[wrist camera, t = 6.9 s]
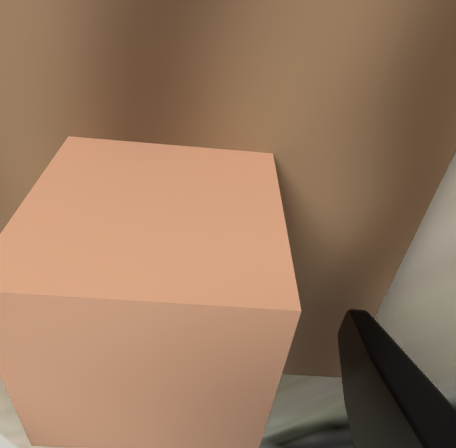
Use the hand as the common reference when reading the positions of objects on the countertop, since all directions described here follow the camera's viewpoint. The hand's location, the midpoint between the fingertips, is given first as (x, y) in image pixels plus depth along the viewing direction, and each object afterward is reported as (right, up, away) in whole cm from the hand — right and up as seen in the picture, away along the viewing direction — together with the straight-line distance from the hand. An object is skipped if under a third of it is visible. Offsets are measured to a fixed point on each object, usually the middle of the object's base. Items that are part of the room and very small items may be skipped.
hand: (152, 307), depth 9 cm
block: (0, +2, +2) cm, 3 cm away
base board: (0, +3, +4) cm, 5 cm away
